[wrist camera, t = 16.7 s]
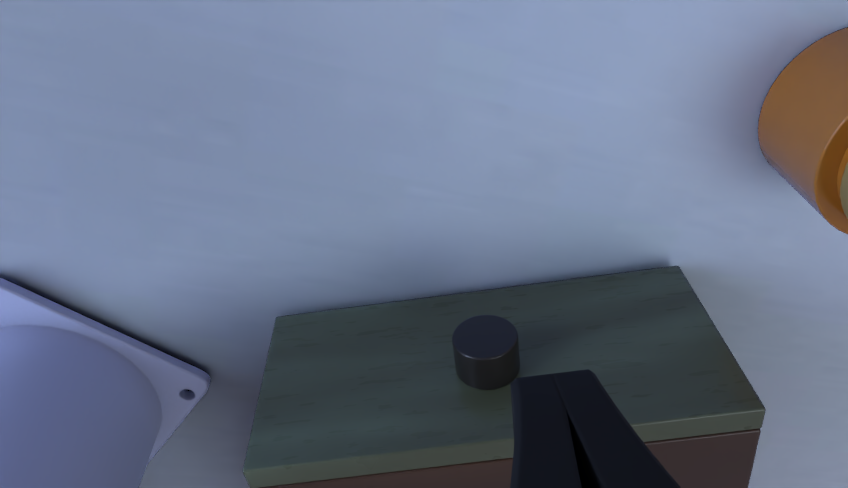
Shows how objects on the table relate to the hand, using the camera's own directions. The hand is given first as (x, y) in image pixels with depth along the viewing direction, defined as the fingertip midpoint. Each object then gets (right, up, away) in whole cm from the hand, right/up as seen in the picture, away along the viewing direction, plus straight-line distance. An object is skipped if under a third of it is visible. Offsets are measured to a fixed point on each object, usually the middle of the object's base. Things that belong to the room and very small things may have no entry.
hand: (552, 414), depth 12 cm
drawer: (0, -4, +14) cm, 15 cm away
